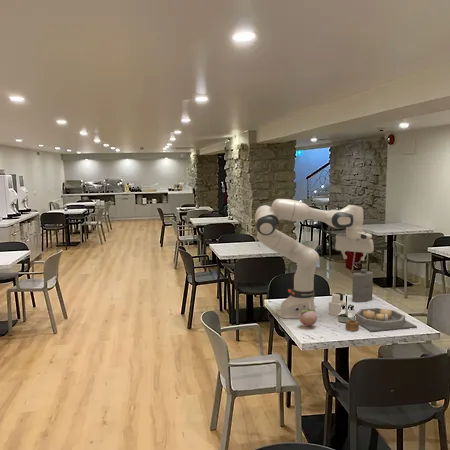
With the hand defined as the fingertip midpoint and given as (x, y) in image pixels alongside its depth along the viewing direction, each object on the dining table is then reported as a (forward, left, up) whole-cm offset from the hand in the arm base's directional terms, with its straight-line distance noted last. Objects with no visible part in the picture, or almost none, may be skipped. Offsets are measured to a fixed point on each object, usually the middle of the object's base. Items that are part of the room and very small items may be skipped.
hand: (353, 259), depth 244 cm
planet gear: (-9, -16, -33) cm, 38 cm away
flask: (+23, +31, -33) cm, 51 cm away
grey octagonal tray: (+11, -9, -33) cm, 36 cm away
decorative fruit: (-29, -7, -33) cm, 44 cm away
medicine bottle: (-5, +9, -33) cm, 35 cm away
